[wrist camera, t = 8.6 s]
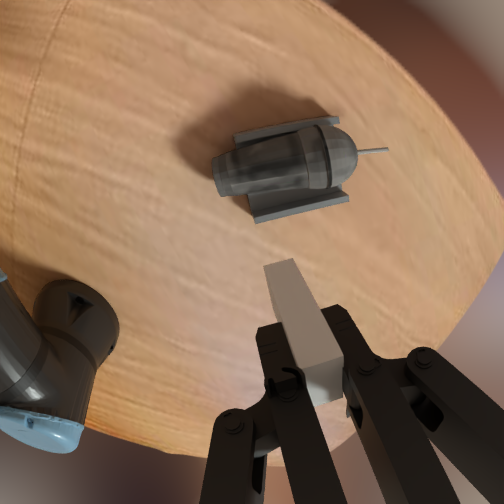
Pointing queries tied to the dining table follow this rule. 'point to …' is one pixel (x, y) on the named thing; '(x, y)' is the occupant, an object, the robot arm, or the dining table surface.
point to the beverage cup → (289, 162)
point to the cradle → (294, 199)
